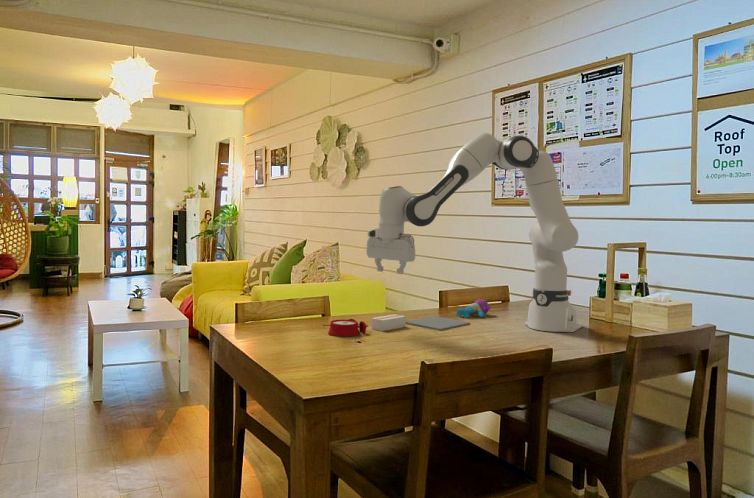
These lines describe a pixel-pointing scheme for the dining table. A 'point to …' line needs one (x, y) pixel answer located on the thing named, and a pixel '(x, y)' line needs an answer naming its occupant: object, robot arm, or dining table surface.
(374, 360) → the dining table surface
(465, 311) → the toy
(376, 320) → the white rectangular block
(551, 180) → the robot arm
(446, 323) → the mat
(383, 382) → the dining table surface
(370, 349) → the dining table surface
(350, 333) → the alarm clock
